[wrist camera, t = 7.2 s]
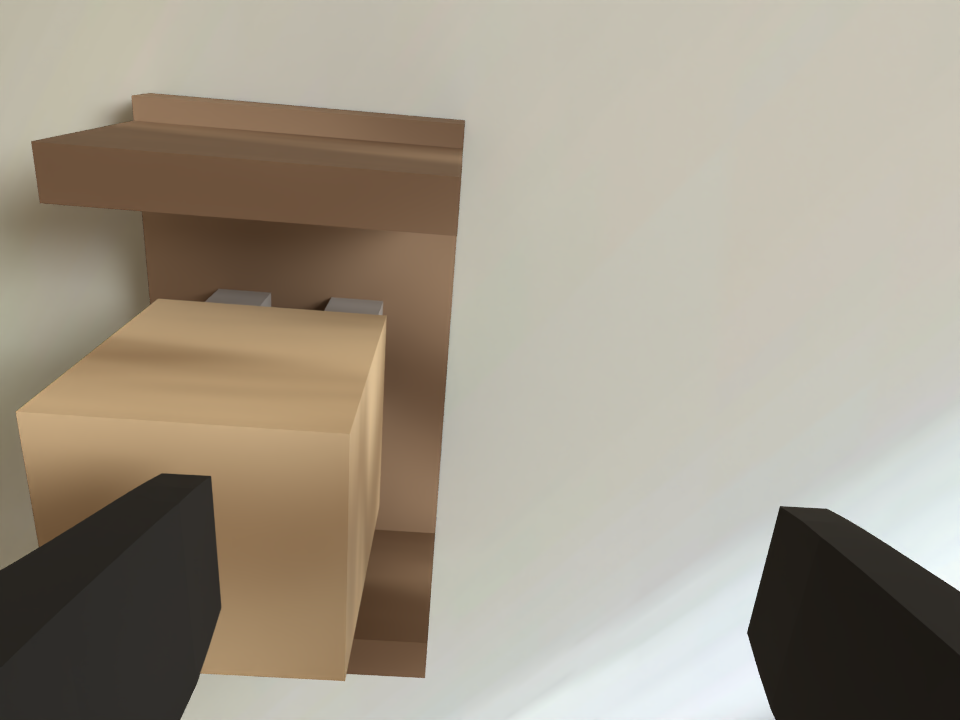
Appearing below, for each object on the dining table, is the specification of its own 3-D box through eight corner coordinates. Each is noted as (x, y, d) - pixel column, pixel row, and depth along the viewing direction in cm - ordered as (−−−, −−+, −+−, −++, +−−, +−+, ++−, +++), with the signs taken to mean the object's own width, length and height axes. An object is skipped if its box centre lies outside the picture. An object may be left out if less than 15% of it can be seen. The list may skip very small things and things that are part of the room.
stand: (433, 556, 21) (423, 694, 17) (186, 541, 21) (107, 678, 16) (464, 120, 17) (463, 146, 12) (150, 93, 16) (26, 108, 12)
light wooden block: (379, 506, 17) (345, 680, 12) (174, 492, 16) (59, 665, 12) (386, 315, 15) (349, 433, 10) (158, 298, 15) (15, 411, 10)
